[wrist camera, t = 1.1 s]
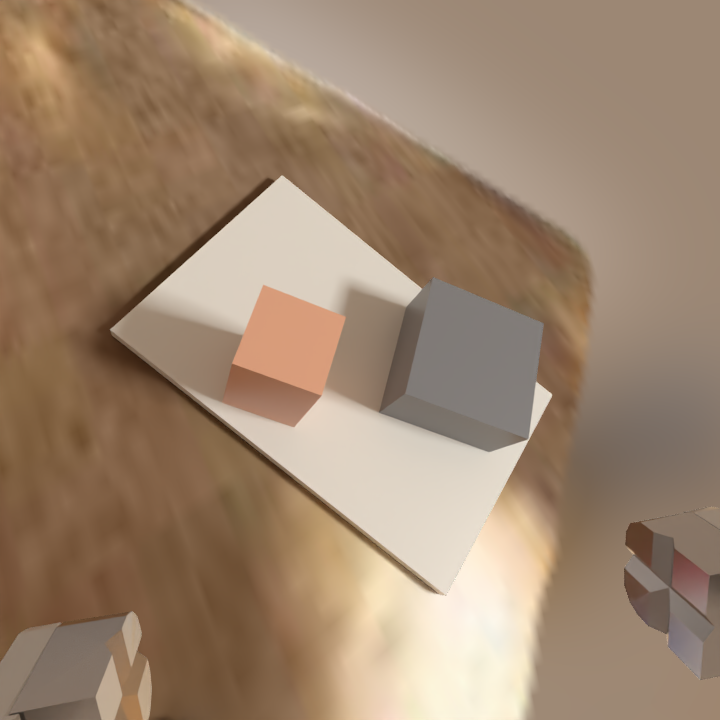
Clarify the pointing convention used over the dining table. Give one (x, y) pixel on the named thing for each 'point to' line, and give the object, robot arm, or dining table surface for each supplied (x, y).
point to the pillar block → (283, 357)
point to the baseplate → (343, 385)
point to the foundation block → (464, 368)
